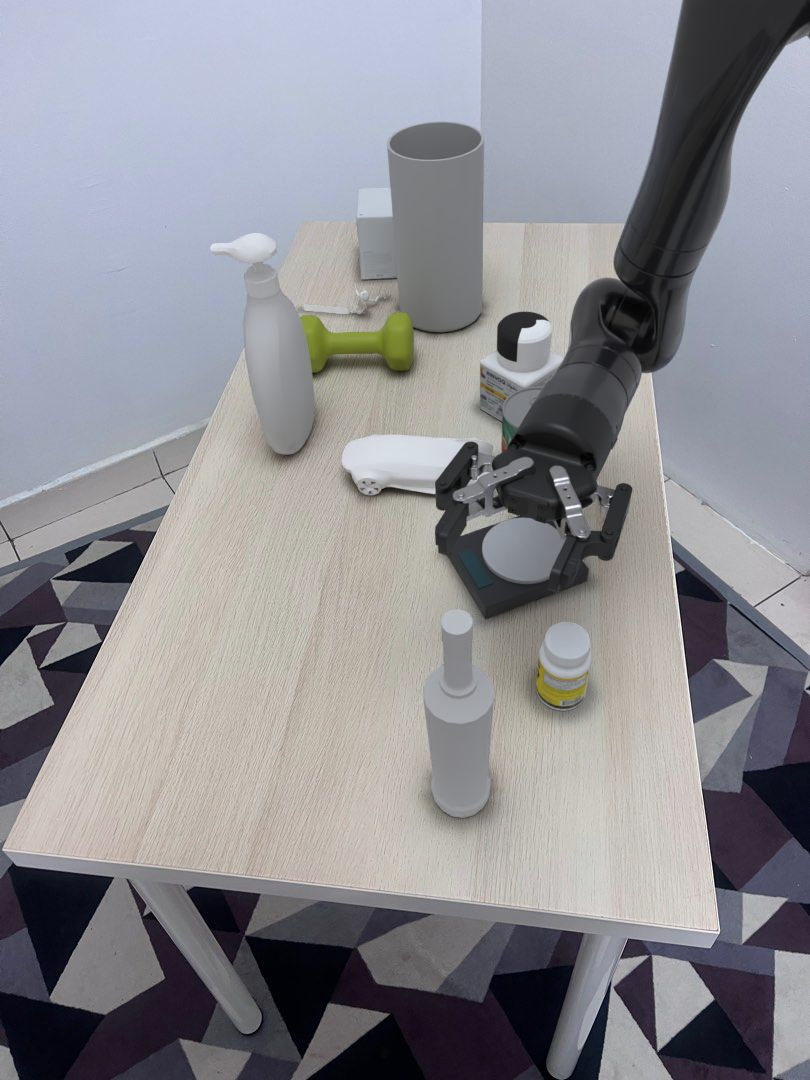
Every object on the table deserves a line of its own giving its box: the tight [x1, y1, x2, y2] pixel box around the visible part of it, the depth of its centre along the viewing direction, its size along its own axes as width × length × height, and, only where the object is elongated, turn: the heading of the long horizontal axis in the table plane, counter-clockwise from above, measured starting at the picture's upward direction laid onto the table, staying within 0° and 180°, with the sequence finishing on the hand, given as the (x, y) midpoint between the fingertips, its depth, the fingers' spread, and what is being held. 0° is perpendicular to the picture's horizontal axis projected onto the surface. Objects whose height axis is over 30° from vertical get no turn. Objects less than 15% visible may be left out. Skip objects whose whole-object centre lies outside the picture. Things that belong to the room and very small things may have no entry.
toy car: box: [341, 433, 494, 496], centre depth 95 cm, size 18×8×4 cm, turn 84°
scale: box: [447, 515, 590, 619], centre depth 85 cm, size 12×10×3 cm
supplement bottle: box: [535, 621, 593, 712], centre depth 73 cm, size 5×5×8 cm
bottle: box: [422, 608, 495, 819], centre depth 60 cm, size 5×5×25 cm
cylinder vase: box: [386, 120, 485, 333], centre depth 112 cm, size 12×12×25 cm
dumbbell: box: [300, 312, 415, 374], centre depth 111 cm, size 16×8×7 cm, turn 86°
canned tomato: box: [500, 387, 543, 453], centre depth 91 cm, size 8×8×11 cm
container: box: [479, 311, 565, 422], centre depth 100 cm, size 8×8×13 cm
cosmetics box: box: [355, 186, 397, 281], centre depth 128 cm, size 10×6×10 cm, turn 1°
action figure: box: [302, 283, 387, 315], centre depth 122 cm, size 12×5×7 cm
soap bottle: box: [209, 232, 315, 455], centre depth 94 cm, size 14×8×27 cm, turn 172°
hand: (496, 565), depth 57 cm, fingers open, 8 cm apart
